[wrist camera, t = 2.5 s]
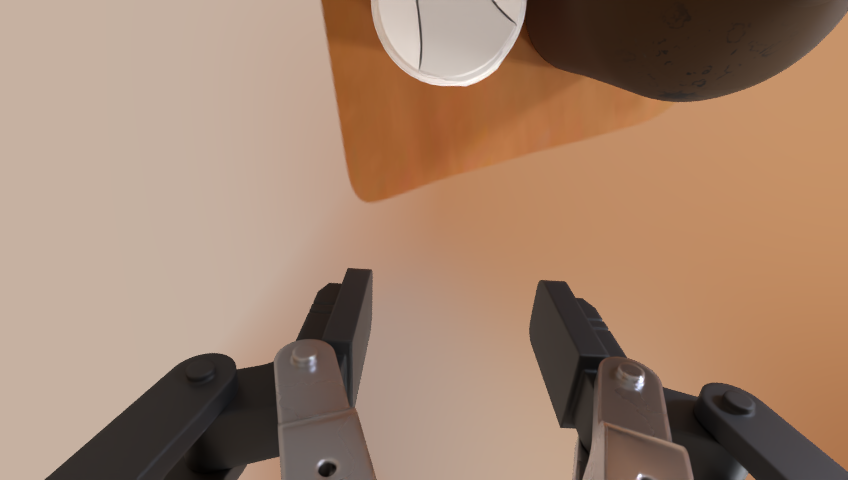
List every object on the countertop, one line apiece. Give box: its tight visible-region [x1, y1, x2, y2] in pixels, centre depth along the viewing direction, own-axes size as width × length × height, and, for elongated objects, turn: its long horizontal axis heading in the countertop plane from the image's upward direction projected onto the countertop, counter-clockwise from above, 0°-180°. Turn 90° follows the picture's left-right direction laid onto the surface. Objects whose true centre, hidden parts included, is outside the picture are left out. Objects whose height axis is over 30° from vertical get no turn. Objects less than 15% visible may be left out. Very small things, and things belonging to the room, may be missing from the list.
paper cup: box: [371, 0, 527, 86], centre depth 26 cm, size 8×8×14 cm
